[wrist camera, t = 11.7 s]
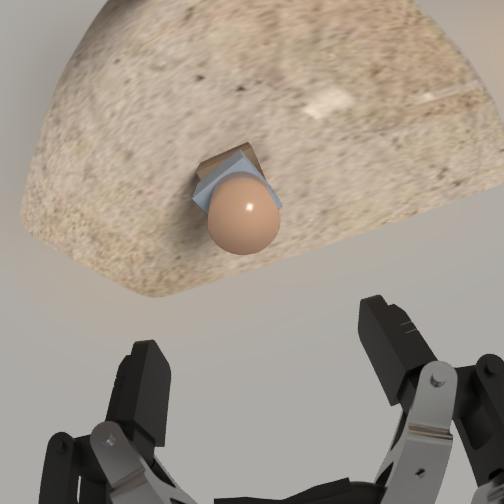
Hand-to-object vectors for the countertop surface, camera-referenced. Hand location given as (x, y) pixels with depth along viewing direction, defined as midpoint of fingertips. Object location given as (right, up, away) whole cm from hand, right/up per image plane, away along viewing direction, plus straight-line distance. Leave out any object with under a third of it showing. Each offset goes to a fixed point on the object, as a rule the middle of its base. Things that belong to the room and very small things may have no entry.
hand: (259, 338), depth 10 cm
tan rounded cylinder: (-1, +8, +14) cm, 16 cm away
